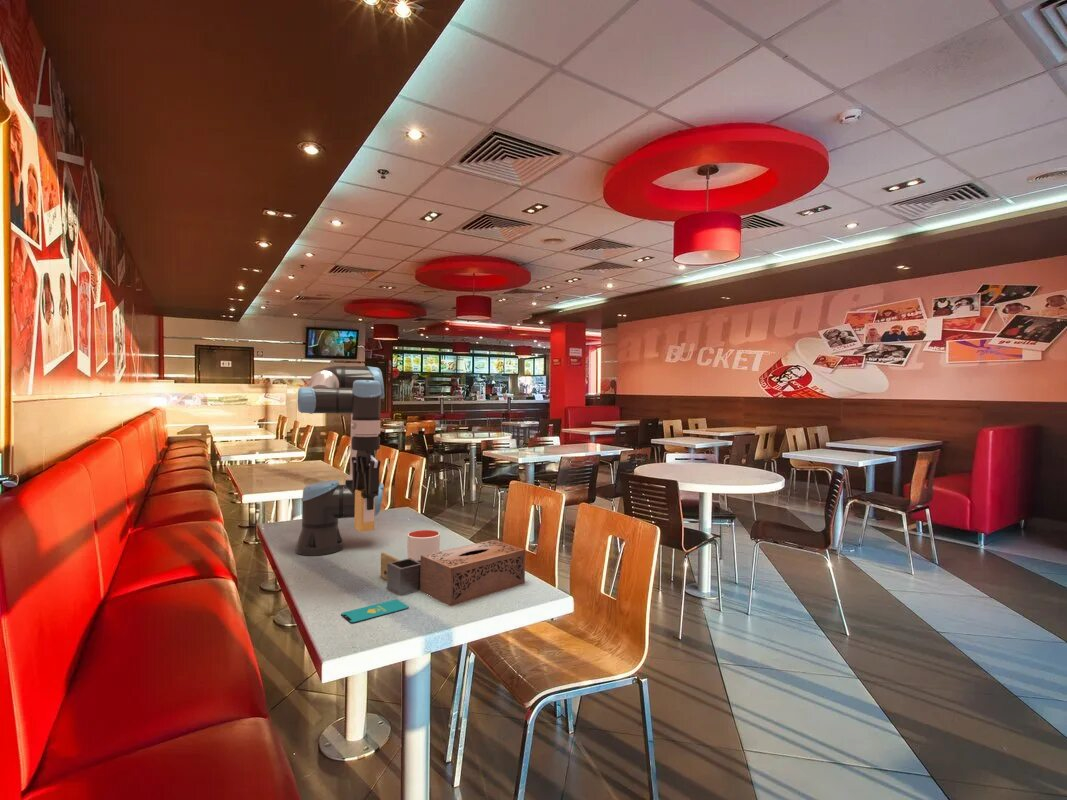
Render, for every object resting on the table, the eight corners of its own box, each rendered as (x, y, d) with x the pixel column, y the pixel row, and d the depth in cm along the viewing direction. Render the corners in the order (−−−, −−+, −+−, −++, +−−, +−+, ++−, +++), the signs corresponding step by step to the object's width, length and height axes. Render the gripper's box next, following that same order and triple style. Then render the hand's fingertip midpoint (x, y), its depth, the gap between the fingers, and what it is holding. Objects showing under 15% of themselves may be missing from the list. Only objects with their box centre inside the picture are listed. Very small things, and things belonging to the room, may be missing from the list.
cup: (432, 571, 162) (432, 538, 162) (401, 568, 164) (402, 536, 164) (444, 561, 171) (444, 531, 171) (415, 559, 173) (415, 529, 173)
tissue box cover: (493, 572, 163) (493, 539, 163) (524, 584, 152) (525, 549, 152) (420, 591, 145) (420, 555, 145) (450, 607, 135) (450, 568, 135)
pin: (354, 529, 147) (355, 489, 147) (368, 527, 149) (368, 488, 149) (360, 531, 144) (361, 491, 144) (374, 529, 146) (375, 489, 146)
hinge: (370, 579, 154) (370, 555, 154) (421, 567, 166) (422, 544, 166) (399, 595, 141) (400, 569, 141) (453, 581, 153) (453, 557, 153)
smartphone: (410, 606, 133) (351, 622, 123) (410, 609, 133) (351, 625, 123) (396, 598, 138) (339, 613, 128) (396, 601, 138) (339, 616, 128)
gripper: (340, 434, 151) (339, 516, 150) (366, 437, 138) (365, 527, 138) (365, 433, 156) (364, 513, 155) (392, 436, 143) (391, 523, 143)
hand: (364, 519), depth 146 cm, fingers closed on pin, 4 cm apart
